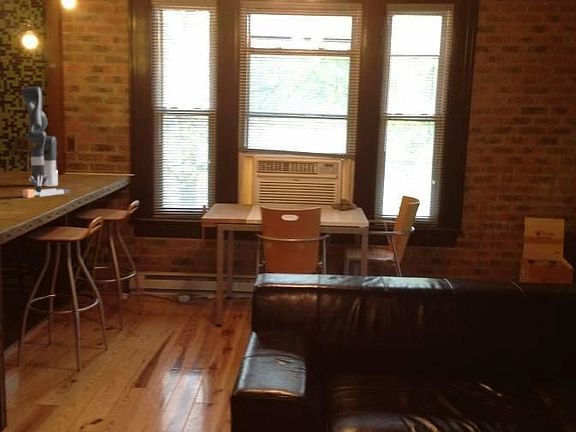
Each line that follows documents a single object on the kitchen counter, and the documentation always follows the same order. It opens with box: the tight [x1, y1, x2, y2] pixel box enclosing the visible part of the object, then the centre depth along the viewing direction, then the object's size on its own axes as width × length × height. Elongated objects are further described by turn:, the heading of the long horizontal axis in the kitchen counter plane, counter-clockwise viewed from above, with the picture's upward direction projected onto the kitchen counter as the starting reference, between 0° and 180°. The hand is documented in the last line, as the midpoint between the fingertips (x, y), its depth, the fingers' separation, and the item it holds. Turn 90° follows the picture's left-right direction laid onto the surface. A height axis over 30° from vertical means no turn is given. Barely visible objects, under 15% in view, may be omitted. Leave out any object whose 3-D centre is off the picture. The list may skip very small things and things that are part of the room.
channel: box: [34, 187, 64, 198], centre depth 416 cm, size 18×8×2 cm, turn 149°
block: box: [22, 188, 35, 199], centre depth 404 cm, size 4×4×4 cm
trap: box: [56, 188, 71, 195], centre depth 426 cm, size 5×8×2 cm, turn 59°
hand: (38, 192), depth 410 cm, fingers closed
